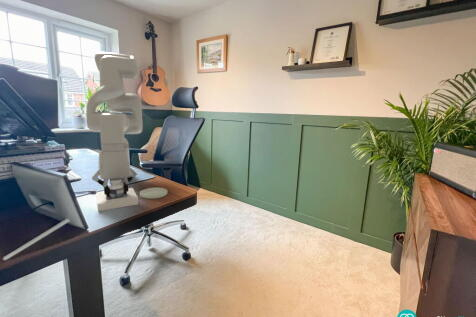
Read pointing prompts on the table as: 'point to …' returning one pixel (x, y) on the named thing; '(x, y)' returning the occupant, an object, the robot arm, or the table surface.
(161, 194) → the coaster
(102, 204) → the pocket holder
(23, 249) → the table surface
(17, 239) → the table surface
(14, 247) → the table surface
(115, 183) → the pill bottle
